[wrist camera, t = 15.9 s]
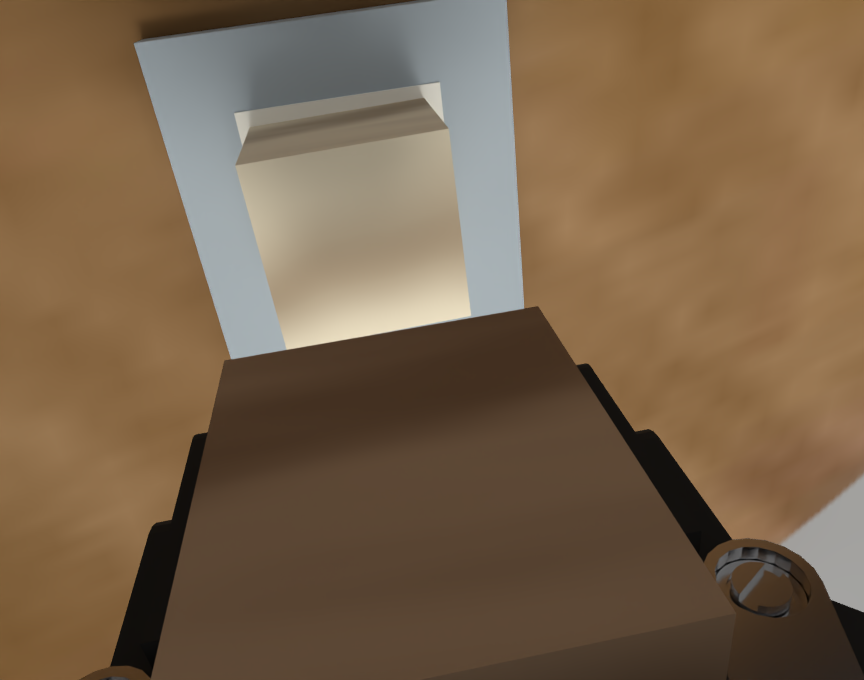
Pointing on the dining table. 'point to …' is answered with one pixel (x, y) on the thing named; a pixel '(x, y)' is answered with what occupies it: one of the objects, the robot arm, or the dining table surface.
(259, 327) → the plate
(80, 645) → the dining table surface
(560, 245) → the dining table surface
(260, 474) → the block top
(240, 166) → the block base
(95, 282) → the dining table surface
